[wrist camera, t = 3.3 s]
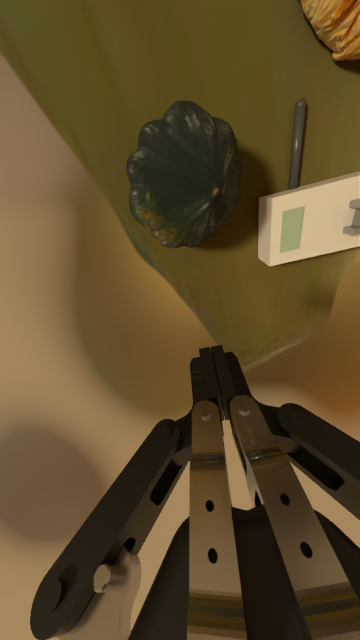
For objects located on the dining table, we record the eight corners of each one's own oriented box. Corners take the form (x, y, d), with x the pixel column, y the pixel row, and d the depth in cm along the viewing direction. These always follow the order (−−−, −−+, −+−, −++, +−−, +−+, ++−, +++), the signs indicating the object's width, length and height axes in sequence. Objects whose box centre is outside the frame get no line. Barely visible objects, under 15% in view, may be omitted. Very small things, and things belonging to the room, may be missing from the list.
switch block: (259, 112, 25) (286, 88, 19) (462, 50, 22) (563, 0, 17) (258, 258, 36) (274, 270, 30) (394, 226, 33) (440, 233, 27)
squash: (86, 167, 23) (136, 245, 18) (170, 33, 18) (273, 88, 13) (154, 226, 36) (195, 282, 31) (214, 156, 31) (276, 210, 25)
